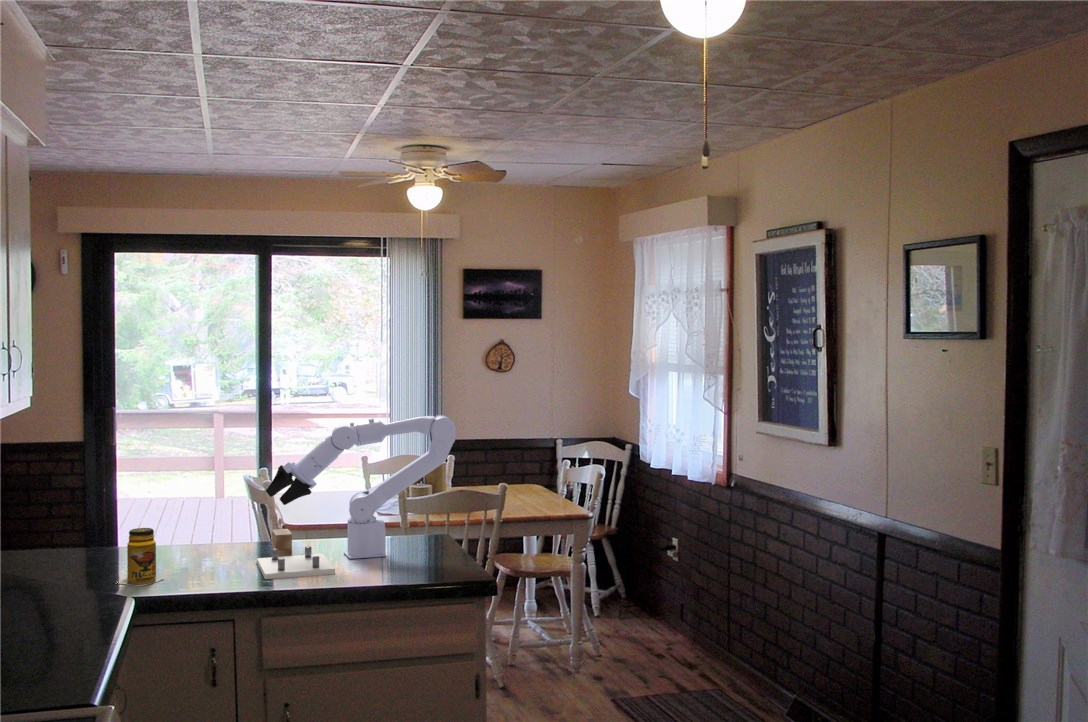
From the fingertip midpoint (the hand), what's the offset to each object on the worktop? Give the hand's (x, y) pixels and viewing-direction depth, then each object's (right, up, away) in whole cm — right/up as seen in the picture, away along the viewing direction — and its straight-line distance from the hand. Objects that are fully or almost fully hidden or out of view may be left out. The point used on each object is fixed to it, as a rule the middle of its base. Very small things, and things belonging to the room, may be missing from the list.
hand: (275, 498), depth 256 cm
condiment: (-25, -16, -25) cm, 38 cm away
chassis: (+8, -16, -11) cm, 20 cm away
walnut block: (0, -15, +5) cm, 16 cm away
